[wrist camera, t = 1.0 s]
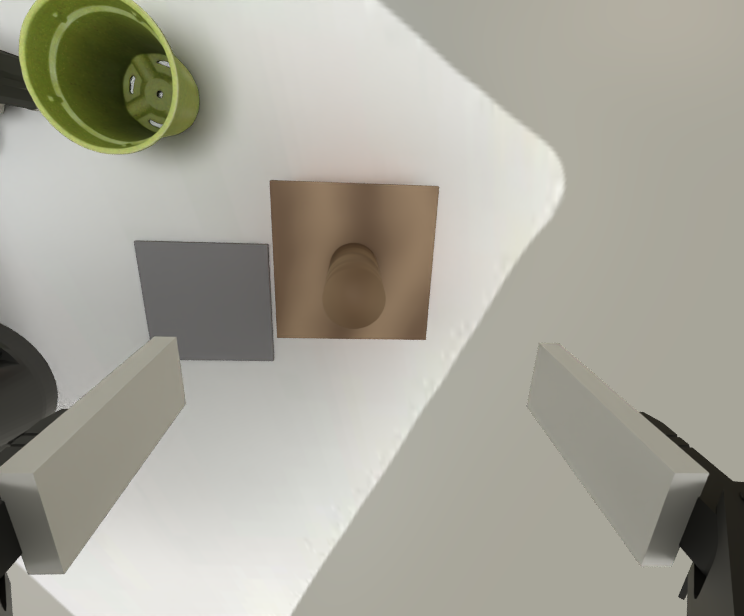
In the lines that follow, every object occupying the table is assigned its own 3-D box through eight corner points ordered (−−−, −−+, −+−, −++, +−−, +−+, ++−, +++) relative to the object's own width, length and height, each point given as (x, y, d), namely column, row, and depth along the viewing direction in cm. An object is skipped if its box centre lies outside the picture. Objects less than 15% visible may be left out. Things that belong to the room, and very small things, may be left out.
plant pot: (211, 171, 35) (168, 173, 27) (98, 137, 34) (16, 128, 25) (229, 53, 32) (187, 15, 24) (107, 11, 31) (18, -45, 22)
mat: (155, 357, 41) (153, 359, 40) (136, 240, 36) (133, 241, 36) (274, 359, 41) (273, 360, 41) (268, 244, 37) (267, 244, 37)
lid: (279, 332, 33) (253, 390, 24) (272, 180, 29) (238, 185, 20) (423, 334, 33) (447, 392, 25) (436, 186, 29) (470, 193, 21)
